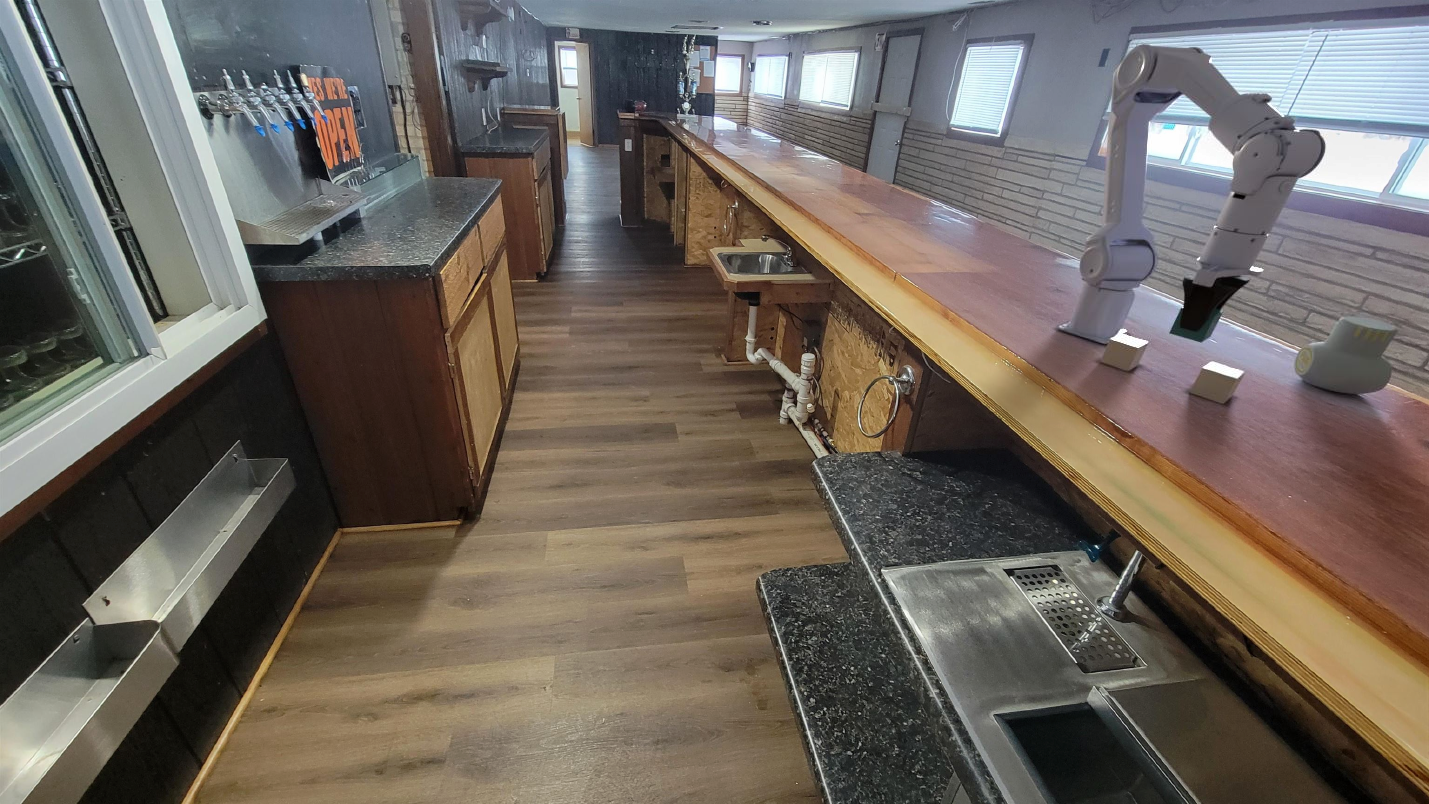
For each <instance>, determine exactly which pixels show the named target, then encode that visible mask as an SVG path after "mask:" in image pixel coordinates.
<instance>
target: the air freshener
mask: <svg viewBox="0 0 1429 804" xmlns="http://www.w3.org/2000/svg"><path fill="white" fill-rule="evenodd" d="M1398 332H1399V331H1398V329H1397V328H1396V326H1394V325H1392V324H1390V323H1386V322H1383V321H1380V320H1376V319H1371V318H1368V317H1361V316H1352V315H1351V316H1343V317H1341V318H1340V319H1338V322H1337V323H1336V324H1335V326H1334V328H1332V331H1331V332H1330V334H1329V335H1328V337H1327V338H1326V340H1325V341H1318V342H1312V343H1307V344H1305V345H1303V346H1302V347H1301V348H1300V349H1299V351H1298V352H1297V353H1296V356H1295V359H1294V365H1293V368H1294V372H1295V374H1296V375H1297V376H1298V377H1299V378H1300V379H1301V380H1302V381H1303V382H1305V383H1306V384H1309V385H1311V386H1315V387H1317V388H1321V389H1323V390H1327V391H1331V392H1334V393H1339V394H1347V395H1348V394H1349V395H1359V394H1360V395H1364V394H1371V393H1372V394H1373V393H1376V392H1379V391H1381V390H1384V388H1386V386H1387V385H1388V384H1389V383H1390V380H1391V378H1392V373H1393V368H1392V365H1391V362H1390V361H1389V360H1388V359H1387V358H1385V357H1384V356H1383V355H1384V353H1385V352H1386V350H1387V348H1388V347H1389V345H1391V343H1392V341H1393V339H1394V338H1395V336H1396V335H1397V333H1398Z"/></svg>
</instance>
